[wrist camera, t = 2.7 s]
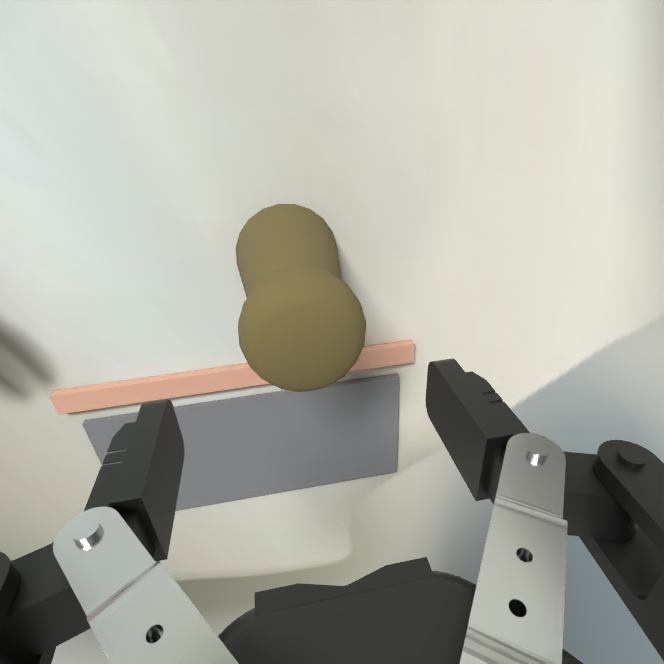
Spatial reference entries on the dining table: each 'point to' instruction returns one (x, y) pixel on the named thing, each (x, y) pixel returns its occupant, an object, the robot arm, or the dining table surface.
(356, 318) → the cork
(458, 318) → the dining table surface
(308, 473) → the mat
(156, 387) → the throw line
